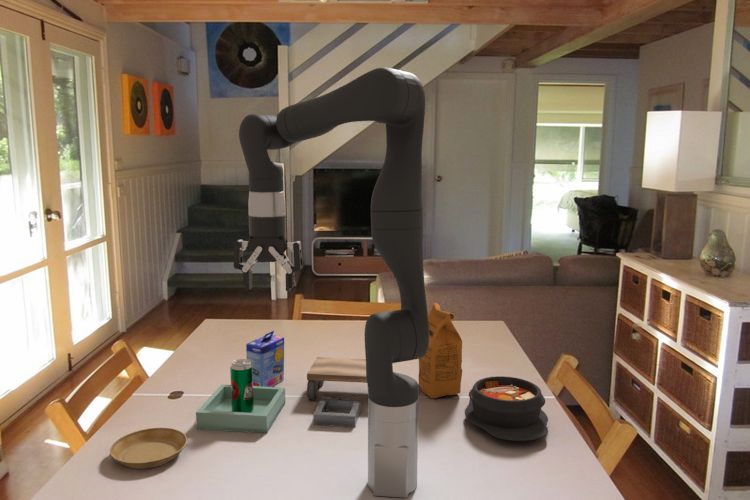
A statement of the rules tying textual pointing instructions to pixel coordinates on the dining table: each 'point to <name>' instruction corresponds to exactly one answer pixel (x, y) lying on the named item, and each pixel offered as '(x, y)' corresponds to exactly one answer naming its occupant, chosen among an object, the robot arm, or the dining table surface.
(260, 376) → the ink cartridge box
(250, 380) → the soda can
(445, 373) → the coffee package
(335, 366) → the trolley
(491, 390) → the casserole
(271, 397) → the tray
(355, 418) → the frame
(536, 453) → the dining table surface
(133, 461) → the plant saucer
